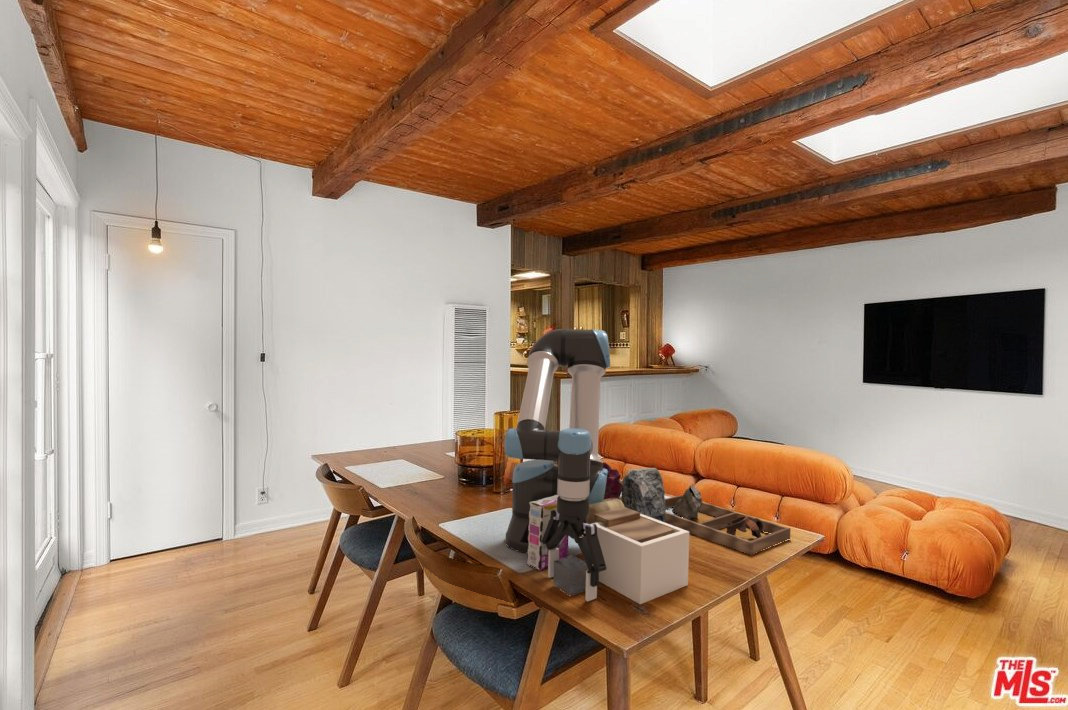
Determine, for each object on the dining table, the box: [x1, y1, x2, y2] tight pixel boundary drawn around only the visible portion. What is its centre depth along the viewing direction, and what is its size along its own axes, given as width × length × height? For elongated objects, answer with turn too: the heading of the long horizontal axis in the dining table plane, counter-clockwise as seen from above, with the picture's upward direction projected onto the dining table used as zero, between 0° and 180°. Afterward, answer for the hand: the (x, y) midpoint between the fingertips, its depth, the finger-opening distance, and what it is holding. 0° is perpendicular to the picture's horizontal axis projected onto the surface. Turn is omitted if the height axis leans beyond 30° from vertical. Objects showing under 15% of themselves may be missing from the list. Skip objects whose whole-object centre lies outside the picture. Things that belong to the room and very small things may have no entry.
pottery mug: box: [725, 515, 763, 539], centre depth 150 cm, size 12×10×8 cm
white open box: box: [592, 514, 690, 605], centre depth 122 cm, size 17×17×13 cm
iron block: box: [552, 555, 589, 596], centre depth 117 cm, size 6×6×6 cm
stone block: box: [621, 467, 666, 522], centre depth 152 cm, size 18×9×20 cm, turn 132°
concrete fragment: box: [671, 485, 703, 520], centre depth 170 cm, size 6×19×11 cm, turn 14°
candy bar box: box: [526, 495, 570, 572], centre depth 131 cm, size 11×5×16 cm, turn 136°
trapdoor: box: [586, 499, 674, 543], centre depth 126 cm, size 20×13×5 cm, turn 36°
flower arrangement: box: [554, 461, 622, 500], centre depth 187 cm, size 31×20×15 cm, turn 48°
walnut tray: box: [664, 494, 791, 556], centre depth 160 cm, size 40×21×4 cm, turn 36°
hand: (571, 587), depth 117 cm, fingers open, 13 cm apart
